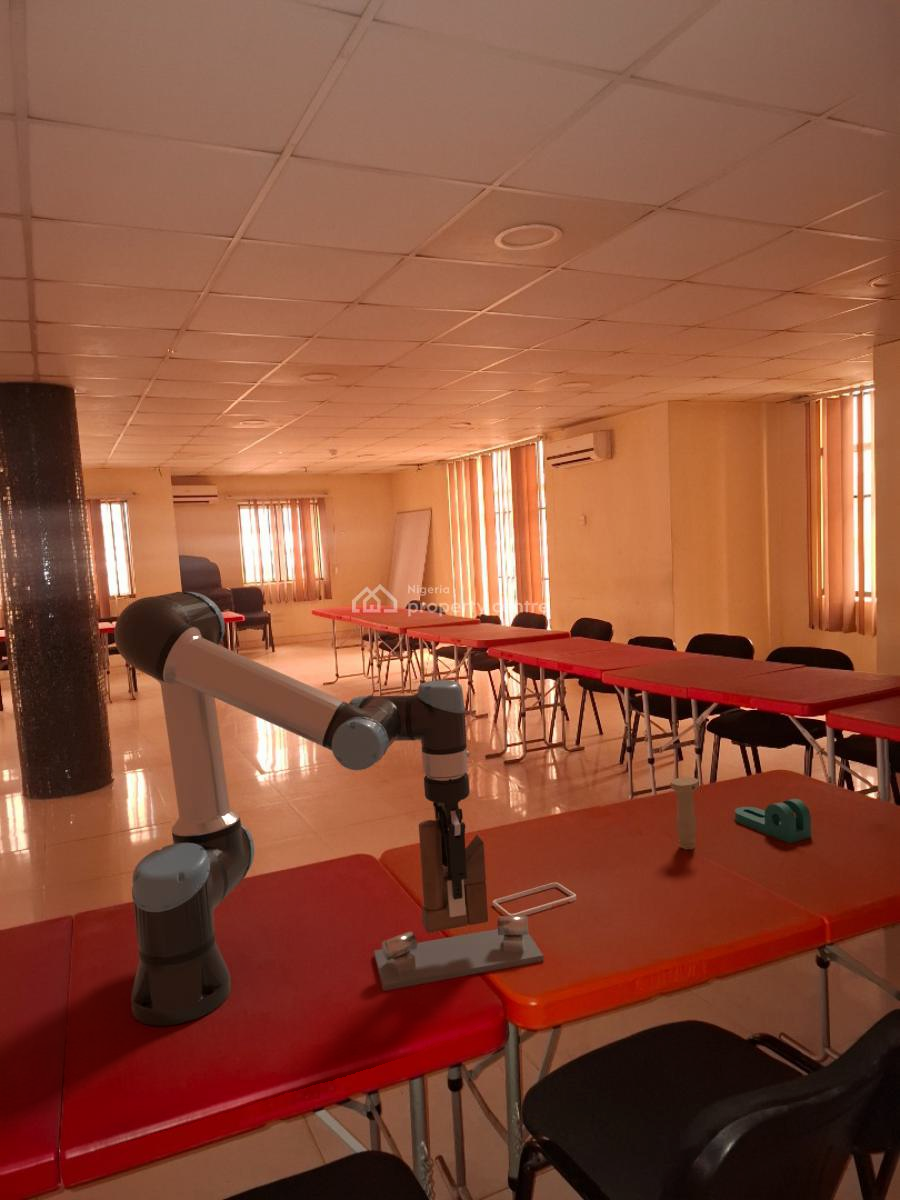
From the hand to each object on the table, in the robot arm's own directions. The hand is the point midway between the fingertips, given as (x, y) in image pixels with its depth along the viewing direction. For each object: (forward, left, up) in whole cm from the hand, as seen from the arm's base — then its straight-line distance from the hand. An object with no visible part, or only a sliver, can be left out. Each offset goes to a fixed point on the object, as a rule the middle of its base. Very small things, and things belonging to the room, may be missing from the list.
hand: (454, 908), depth 132 cm
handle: (+59, +28, -9) cm, 66 cm away
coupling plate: (0, 0, -9) cm, 9 cm away
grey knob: (+10, -1, -9) cm, 13 cm away
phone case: (+19, +15, -10) cm, 26 cm away
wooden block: (0, 0, -3) cm, 3 cm away
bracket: (+82, +32, -9) cm, 88 cm away
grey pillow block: (-10, -1, -9) cm, 13 cm away
